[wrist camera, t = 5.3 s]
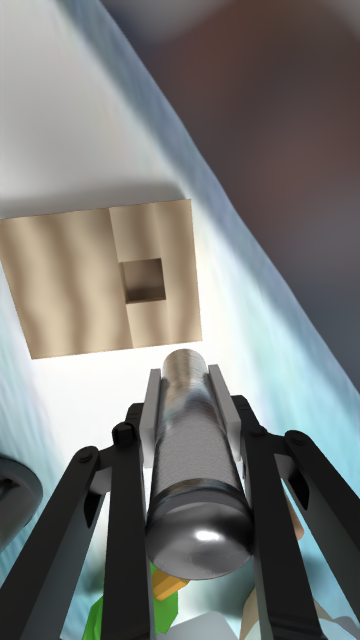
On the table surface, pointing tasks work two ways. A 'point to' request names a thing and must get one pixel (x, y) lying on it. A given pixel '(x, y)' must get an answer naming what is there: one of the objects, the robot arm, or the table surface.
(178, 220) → the board
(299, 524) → the walnut dowel
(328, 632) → the bowl
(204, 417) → the pin
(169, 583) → the decorative tree
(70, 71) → the table surface
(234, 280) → the table surface
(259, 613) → the robot arm
